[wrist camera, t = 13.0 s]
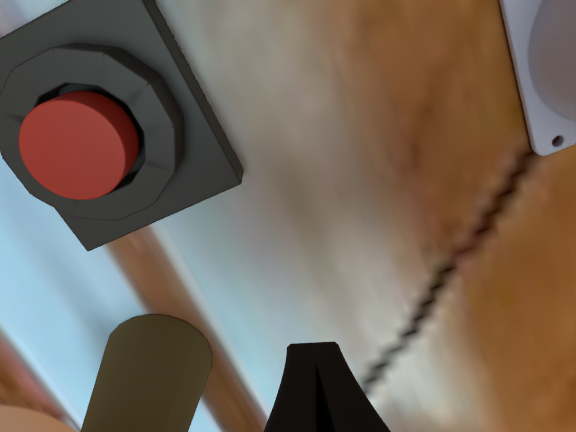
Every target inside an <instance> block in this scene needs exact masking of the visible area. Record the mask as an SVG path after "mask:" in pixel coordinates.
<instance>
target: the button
mask: <svg viewBox="0 0 576 432" xmlns="http://www.w3.org/2000/svg"><path fill="white" fill-rule="evenodd" d="M19 150H20V154H21V157H22V160H23V162H24V164H25V166H26V168H27V169H28V171H29V172H30V173H31V175H32V176H33V177H34V178H35V179H36V180H37V181H38V182H39V183H40V184H41V185H42V186H44V187H45V188H46V189H48V190H50V191H51V192H53V193H55V194H57V195H60V196H62V197H65V198H69V199H75V200H90V199H95V198H99V197H101V196H104V195H106V194H107V193H109V192H110V191H112V190H113V189H114V188H115V187H116V186H117V185H118V184H119V183H120V182H121V180H122V179H123V178H124V177H125V176H126V175H127V174H128V172H129V171H130V170H131V169H132V167H133V166H134V164H135V162H136V160H137V157H138V152H139V139H138V134H137V130H136V128H135V125H134V123H133V122H132V120H131V118H130V117H129V115H128V114H127V113H126V112H125V111H124V109H123V108H122V107H120V106H119V105H118V104H117V103H116V102H114V101H113V100H111V99H110V98H108V97H106V96H104V95H101V94H99V93H95V92H91V91H72V92H68V93H65V94H63V95H60V96H58V97H56V98H53V99H51V100H49V101H46V102H44V103H42V104H40V105H38V106H36V107H35V108H33V109H32V110H31V111H30V112H29V113H28V114H27V116H26V117H25V119H24V120H23V122H22V125H21V127H20V132H19Z"/></svg>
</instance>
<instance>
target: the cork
mask: <svg viewBox="0 0 576 432" xmlns="http://www.w3.org/2000/svg"><path fill="white" fill-rule="evenodd" d="M211 367H212V352H211V349H210V347H209V344H208V341H207V340H206V339H205V338H204V337H203V335H202V334H201V333H200V332H199V331H198V330H197V329H196V328H194V327H193V326H191V325H189V324H188V323H186V322H185V321H182V320H179V319H176V318H173V317H170V316H166V315H153V314H149V315H144V316H138V317H133V318H131V319H129V320H127V321H125V322H124V323H122V324H120V325H119V326H118V327H117V328H116V329H115V330H114V331H113V332H112V333H111V334H110V337H109V339H108V342H107V345H106V348H105V351H104V354H103V358H102V361H101V365H100V368H99V371H98V375H97V378H96V382H95V385H94V388H93V392H92V395H91V398H90V402H89V405H88V409H87V412H86V415H85V419H84V422H83V425H82V429H81V432H188V430H189V427H190V425H191V422H192V419H193V416H194V414H195V411H196V408H197V405H198V403H199V400H200V397H201V394H202V392H203V389H204V386H205V383H206V380H207V378H208V375H209V372H210V369H211Z"/></svg>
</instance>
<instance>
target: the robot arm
mask: <svg viewBox="0 0 576 432" xmlns="http://www.w3.org/2000/svg"><path fill="white" fill-rule="evenodd" d="M499 1H500V6H501V10H502V15H503V19H504V24H505V29H506V33H507V38H508V42H509V47H510V51H511V56H512V60H513V65H514V69H515V74H516V78H517V83H518V87H519V92H520V97H521V101H522V106H523V110H524V115H525V119H526V124H527V128H528V133H529V137H530V142H531V146H532V149H533V151H534V152H535V153H537V154H538V155H541V156H546V155H550V154H552V153H555V152H557V151H559V150H562V149H564V148H567V147H569V146H572V145H574V144H576V0H499ZM556 136H559V140H558V141H557V142H556V143H555V144H552V140H553V139H554V138H555V137H556ZM264 432H391V431H390V430H389V429H388V427H387V426H386V424H385V423H384V422H383V420H382V419H381V418H380V416H379V415H378V413H377V412H376V410H375V409H374V408H373V406H372V405H371V403H370V402H369V400H368V398H367V397H366V395H365V394H364V392H363V391H362V389H361V387H360V386H359V384H358V382H357V381H356V379H355V377H354V376H353V374H352V372H351V370H350V368H349V367H348V365H347V363H346V361H345V359H344V357H343V354H342V352H341V350H340V348H339V345H338V344H337V343H336V342H319V343H299V344H290V345H289V346H288V347H287V356H286V363H285V368H284V372H283V376H282V380H281V384H280V387H279V390H278V394H277V397H276V400H275V403H274V406H273V409H272V412H271V414H270V417H269V419H268V422H267V424H266V427H265V429H264Z"/></svg>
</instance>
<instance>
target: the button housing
mask: <svg viewBox="0 0 576 432" xmlns="http://www.w3.org/2000/svg"><path fill="white" fill-rule="evenodd" d="M72 91H91V92H95V93H99V94H101V95H104V96H106V97H108V98H110V99H111V100H113V101H114V102H116V103H117V104H118V105H119V106H120V107H122V108H123V109H124V111H125V112H126V113H127V114H128V115H129V117H130V118H131V120H132V122H133V123H134V125H135V128H136V130H137V134H138V139H139V152H138V157H137V160H136V162H135V164H134V166H133V167H132V169H131V170H130V171H129V172H128V174H127V175H126V176H125V177H124V178H123V179H122V180H121V182H120V183H119V184H118V185H117V186H116V187H115V188H114V189H113V190H112V191H110V192H109V193H107V194H106V195H104V196H101V197H99V198H95V199H90V200H75V199H69V198H65V197H62V196H60V195H57V194H55V193H53V192H51V191H50V190H48V189H46V188H45V187H44V186H42V185H41V184H40V183H39V182H38V181H37V180H36V179H35V178H34V177H33V176H32V175H31V173H30V172H29V171H28V169H27V168H26V166H25V164H24V162H23V160H22V157H21V154H20V150H19V132H20V127H21V125H22V122H23V120H24V119H25V117H26V116H27V114H28V113H29V112H30V111H31V110H32V109H33V108H35V107H36V106H38V105H40V104H42V103H44V102H46V101H49V100H51V99H53V98H56V97H58V96H60V95H63V94H65V93H68V92H72ZM0 152H1V155H2V156H3V157H2V158H3V159H4V161H5V162H6V163H7V165H8V166H9V167H10V169H11V170H12V171H13V172H14V174H15V175H16V176H17V178H18V179H19V180H20V181H21V183H22V184H23V185H24V187H25V188H26V189H27V191H28V192H29V193H30V194H32V195H33V196H34V197H36V198H38V199H39V200H41V201H43V202H45V203H47V204H49V205H50V206H52V207H54V208H55V209H56V210H57V212H58V213H59V214H60V216H61V217H62V218H63V220H64V221H65V222H66V224H67V225H68V226H69V228H70V229H71V230H72V232H73V233H74V234H75V236H76V237H77V238H78V240H79V241H80V242H81V243H82V245H83V246H84V247H85V249H86V250H87V251H90V250H93V249H95V248H97V247H99V246H102V245H104V244H106V243H109V242H111V241H113V240H115V239H118V238H120V237H122V236H124V235H127V234H129V233H131V232H133V231H136V230H138V229H140V228H142V227H145V226H147V225H149V224H151V223H154V222H156V221H158V220H161V219H163V218H165V217H167V216H170V215H172V214H174V213H176V212H179V211H181V210H183V209H185V208H188V207H190V206H192V205H194V204H197V203H199V202H201V201H203V200H206V199H208V198H210V197H213V196H215V195H217V194H219V193H222V192H224V191H226V190H228V189H231V188H233V187H235V186H237V185H240V184H241V182H242V177H243V172H244V170H243V168H242V166H241V164H240V162H239V160H238V159H237V157H236V155H235V153H234V151H233V149H232V147H231V145H230V143H229V142H228V140H227V138H226V136H225V134H224V132H223V130H222V128H221V126H220V124H219V123H218V121H217V119H216V117H215V115H214V113H213V111H212V109H211V107H210V106H209V104H208V102H207V100H206V98H205V96H204V94H203V92H202V90H201V89H200V87H199V85H198V83H197V81H196V79H195V77H194V75H193V73H192V72H191V70H190V68H189V66H188V64H187V62H186V60H185V58H184V56H183V55H182V53H181V51H180V49H179V47H178V45H177V43H176V41H175V39H174V38H173V36H172V34H171V32H170V30H169V28H168V26H167V24H166V22H165V20H164V19H163V17H162V15H161V13H160V11H159V9H158V7H157V5H156V3H155V2H154V0H68V1H67V2H65V3H63V4H61V5H59V6H58V7H56V8H54V9H52V10H50V11H49V12H47V13H45V14H43V15H41V16H40V17H38V18H36V19H34V20H32V21H30V22H29V23H27V24H25V25H23V26H21V27H20V28H18V29H16V30H14V31H12V32H11V33H9V34H7V35H5V36H3V37H1V38H0Z"/></svg>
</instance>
